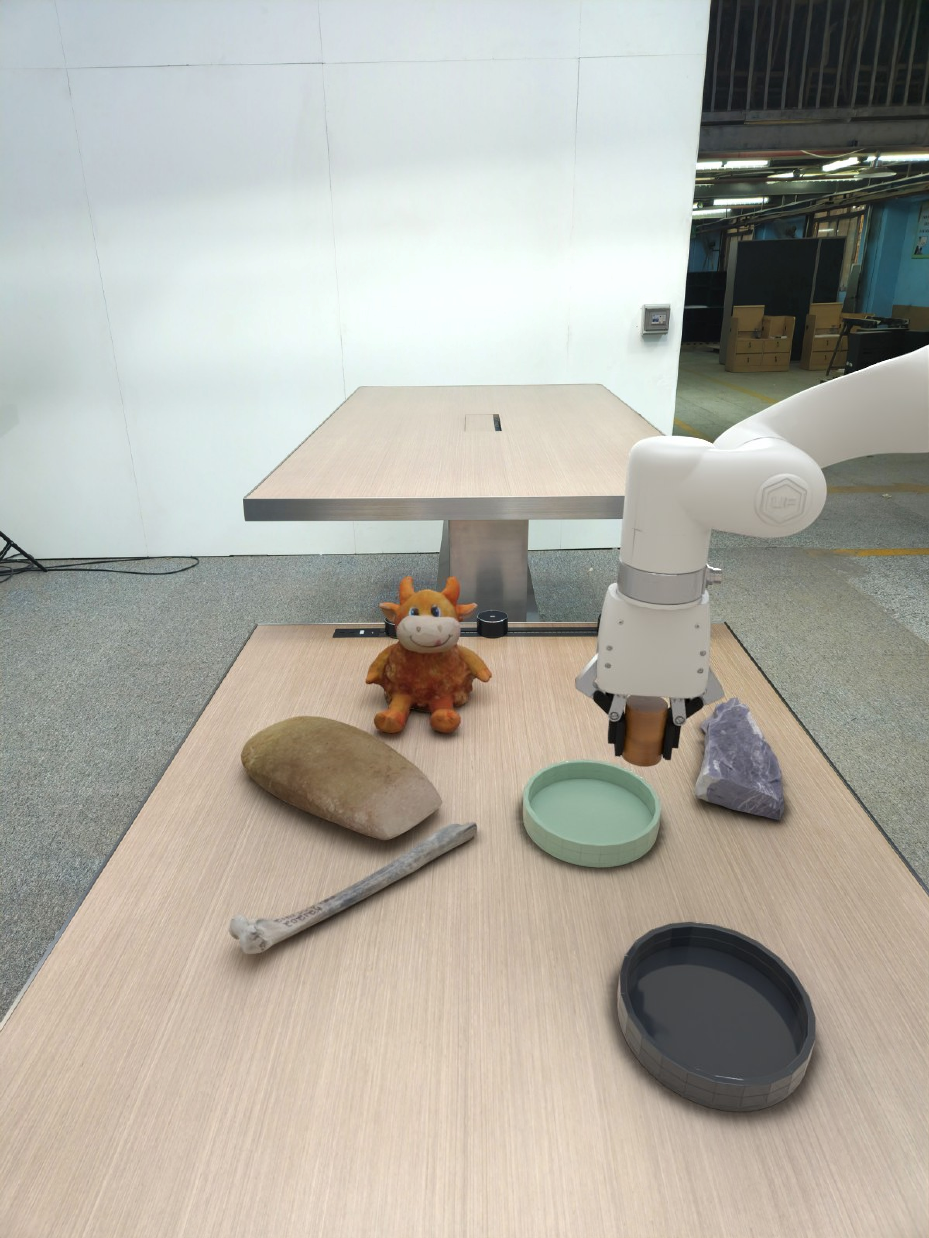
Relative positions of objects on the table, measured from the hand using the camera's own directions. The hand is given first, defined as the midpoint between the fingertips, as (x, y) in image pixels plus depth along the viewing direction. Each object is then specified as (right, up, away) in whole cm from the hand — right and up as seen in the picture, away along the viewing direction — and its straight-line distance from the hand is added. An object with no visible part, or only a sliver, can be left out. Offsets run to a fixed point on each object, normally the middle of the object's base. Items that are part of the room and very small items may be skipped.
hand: (641, 748), depth 74 cm
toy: (-23, 0, +43) cm, 49 cm away
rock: (+18, -7, +27) cm, 33 cm away
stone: (-34, -9, +23) cm, 42 cm away
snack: (0, -1, 0) cm, 1 cm away
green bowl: (-2, -12, +17) cm, 20 cm away
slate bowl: (+4, -23, -8) cm, 24 cm away
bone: (-28, -17, +6) cm, 33 cm away
